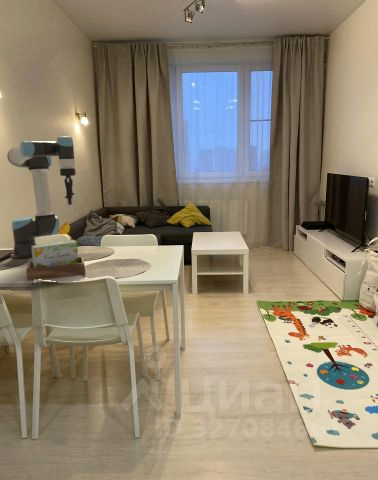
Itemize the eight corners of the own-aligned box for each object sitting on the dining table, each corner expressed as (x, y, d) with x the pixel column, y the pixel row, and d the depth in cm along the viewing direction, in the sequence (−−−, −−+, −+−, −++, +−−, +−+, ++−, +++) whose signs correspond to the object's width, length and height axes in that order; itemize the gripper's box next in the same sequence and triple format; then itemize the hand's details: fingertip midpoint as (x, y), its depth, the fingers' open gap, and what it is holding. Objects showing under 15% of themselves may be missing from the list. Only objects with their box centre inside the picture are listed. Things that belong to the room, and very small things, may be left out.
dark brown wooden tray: (30, 272, 190) (28, 261, 189) (84, 266, 198) (83, 256, 197) (27, 280, 177) (26, 269, 176) (85, 274, 185) (84, 263, 184)
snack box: (36, 277, 179) (33, 247, 176) (34, 274, 184) (30, 245, 181) (79, 269, 191) (77, 241, 188) (76, 267, 195) (73, 239, 192)
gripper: (61, 167, 197) (64, 206, 202) (58, 168, 174) (62, 212, 179) (75, 167, 199) (78, 205, 204) (74, 168, 176) (78, 212, 181)
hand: (71, 209), depth 191 cm, fingers open, 13 cm apart
